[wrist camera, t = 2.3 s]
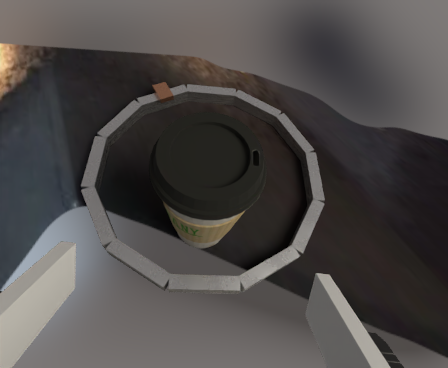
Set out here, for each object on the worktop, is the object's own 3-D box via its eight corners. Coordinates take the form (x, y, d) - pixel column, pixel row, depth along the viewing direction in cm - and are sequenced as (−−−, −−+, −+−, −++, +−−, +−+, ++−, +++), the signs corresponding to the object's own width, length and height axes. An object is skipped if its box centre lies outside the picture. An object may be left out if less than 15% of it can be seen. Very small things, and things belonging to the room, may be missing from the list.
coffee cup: (167, 185, 37) (157, 99, 25) (241, 192, 38) (270, 113, 25) (153, 260, 33) (133, 202, 20) (239, 267, 33) (274, 216, 20)
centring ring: (58, 128, 40) (50, 114, 37) (240, 73, 50) (243, 59, 47) (145, 350, 28) (142, 351, 26) (360, 220, 38) (371, 212, 36)
